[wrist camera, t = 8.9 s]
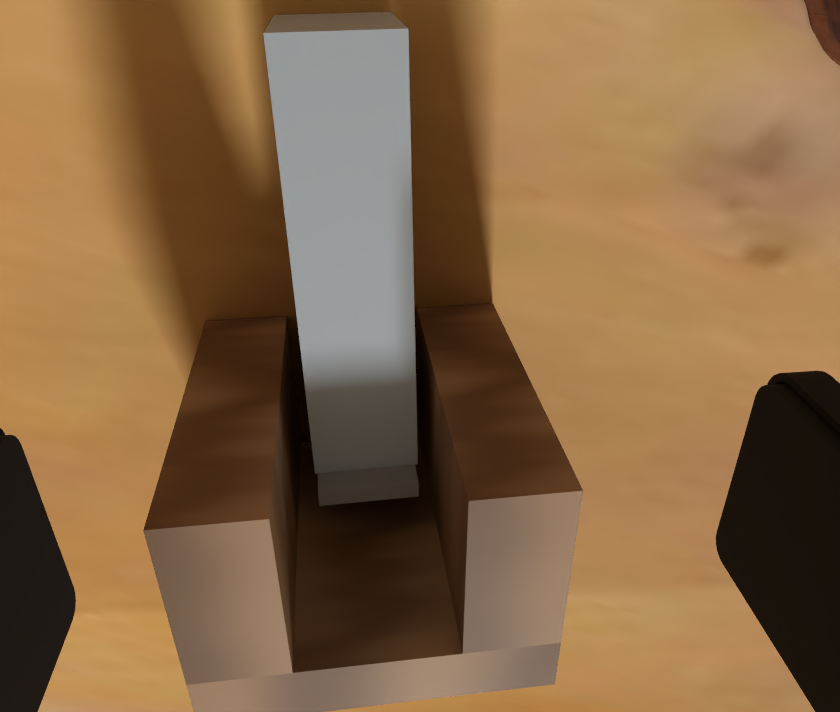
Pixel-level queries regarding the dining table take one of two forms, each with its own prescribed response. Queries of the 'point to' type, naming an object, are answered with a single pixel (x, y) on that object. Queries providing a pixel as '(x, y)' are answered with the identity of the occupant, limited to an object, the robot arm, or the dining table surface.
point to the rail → (350, 242)
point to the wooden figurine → (826, 25)
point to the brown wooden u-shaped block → (363, 533)
